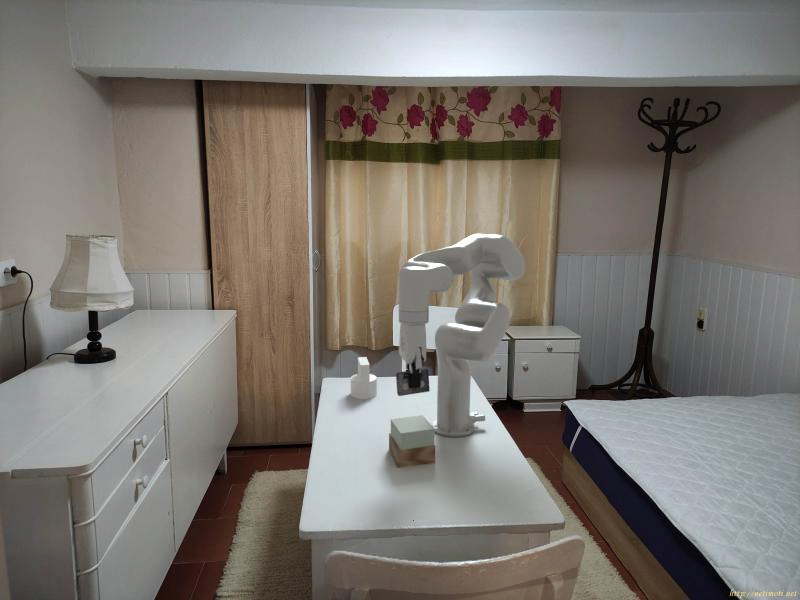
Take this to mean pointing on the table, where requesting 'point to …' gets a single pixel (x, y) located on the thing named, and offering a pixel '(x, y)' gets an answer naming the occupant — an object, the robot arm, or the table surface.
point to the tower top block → (412, 432)
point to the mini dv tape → (403, 383)
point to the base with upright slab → (363, 381)
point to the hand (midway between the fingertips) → (413, 385)
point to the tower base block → (411, 454)
